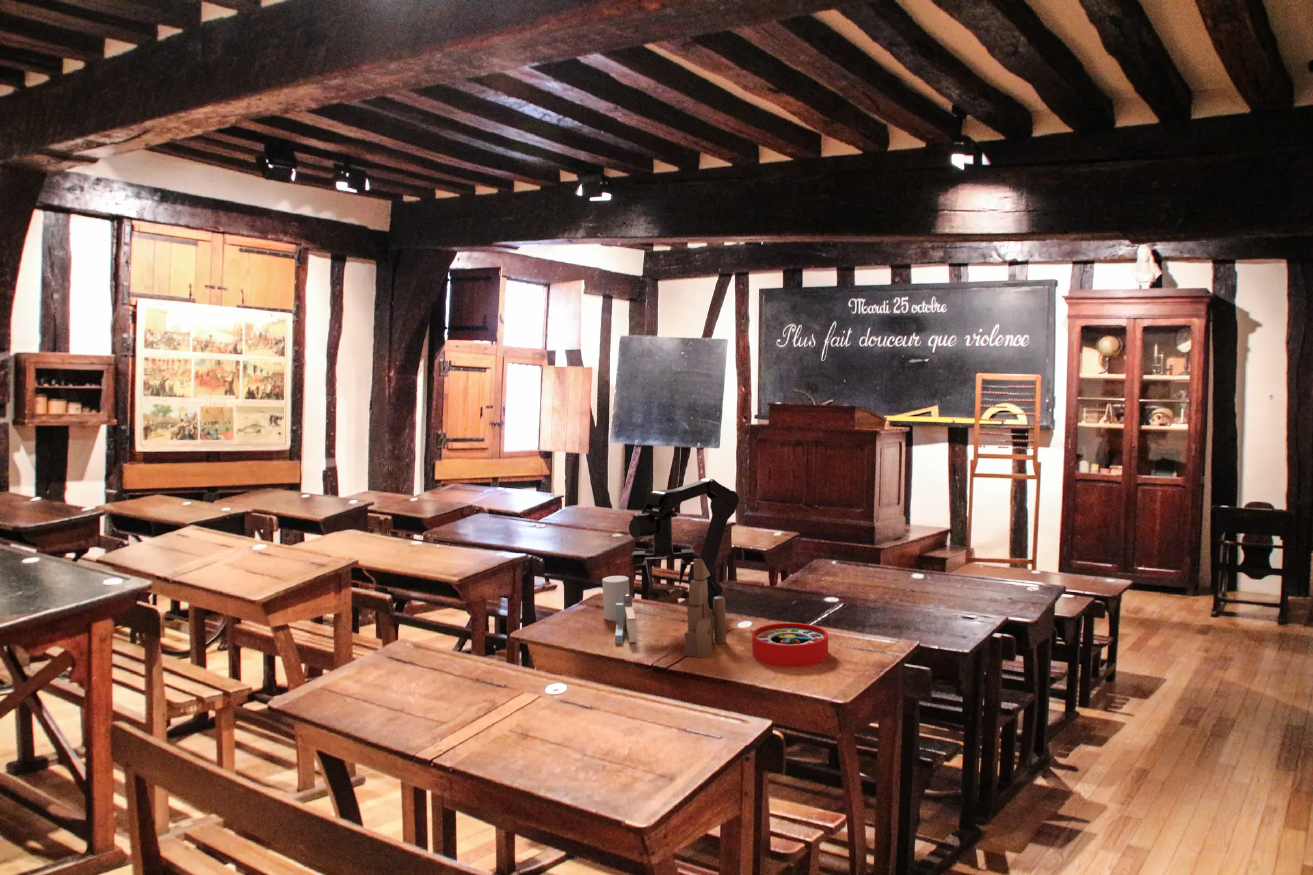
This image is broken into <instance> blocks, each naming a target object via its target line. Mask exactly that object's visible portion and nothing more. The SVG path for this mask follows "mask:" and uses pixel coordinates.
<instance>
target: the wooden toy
mask: <svg viewBox="0 0 1313 875" xmlns="http://www.w3.org/2000/svg"><path fill="white" fill-rule="evenodd" d="M692 564H693V565H694V580H692V581H691V582H690V585H688V586H689V587H688V600H689V601H688V603H689V604H688V606H687V607H686V608H687V631H685V632H684V652H685V656H686V657H692V658H693V657H694V658H696V657H697V658H709V657H711V655H712V654H713V645H712V644H713V643H715V644H719V645H722V644H723V645H724V644H725V643H727V628H726V625H727V624H726V623H727V622H726V600H725V596H722V595H719V596H717V597H714V598H713V608H714V616H713V611H712V610H711V609H710V608H709V605H708V588H707V577H709V576H710V573H709V571H708V570H707V568H706V566H705V564H704V562H703V560H702V559H700V558H695V559H694V560H693V562H692Z"/></svg>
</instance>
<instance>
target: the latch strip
mask: <svg viewBox="0 0 1313 875" xmlns="http://www.w3.org/2000/svg"><path fill="white" fill-rule="evenodd" d="M616 618H617V621H616V626H615V634H614V637H615V638H614V640H615V641H614V642H615V644H616V645H617V644H618V645H619V644H623V643H624V632H625V630H624V625H625V620H624V614H623V603H616Z"/></svg>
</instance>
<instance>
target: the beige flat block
mask: <svg viewBox="0 0 1313 875" xmlns="http://www.w3.org/2000/svg"><path fill="white" fill-rule="evenodd" d="M625 612H626V629H627V630H626V633H627V638H628V640H629V643H636V642H637V637H636V636H637V635H636V622H637V619H636V615H635V611H634V607H633V605H632V606H625Z"/></svg>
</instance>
